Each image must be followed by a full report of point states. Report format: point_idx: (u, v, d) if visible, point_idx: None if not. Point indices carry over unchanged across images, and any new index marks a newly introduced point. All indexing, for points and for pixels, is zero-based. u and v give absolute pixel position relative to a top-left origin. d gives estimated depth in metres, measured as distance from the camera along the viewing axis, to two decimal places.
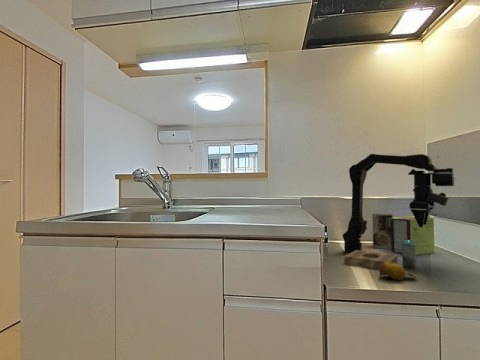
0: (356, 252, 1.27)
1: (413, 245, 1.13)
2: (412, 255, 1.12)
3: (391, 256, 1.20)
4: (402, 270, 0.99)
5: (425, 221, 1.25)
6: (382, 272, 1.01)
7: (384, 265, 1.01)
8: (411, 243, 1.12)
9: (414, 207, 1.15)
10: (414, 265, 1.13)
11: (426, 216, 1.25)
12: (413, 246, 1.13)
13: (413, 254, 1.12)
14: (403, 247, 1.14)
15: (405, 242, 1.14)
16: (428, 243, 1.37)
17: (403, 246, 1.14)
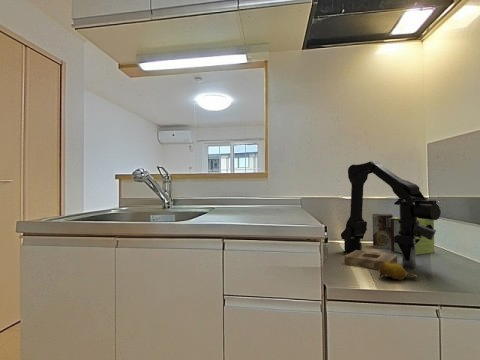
0: (356, 252, 1.27)
1: None
2: (412, 255, 1.12)
3: (391, 256, 1.20)
4: (402, 270, 0.99)
5: None
6: (382, 272, 1.01)
7: (384, 265, 1.01)
8: None
9: (399, 241, 1.08)
10: (414, 265, 1.13)
11: None
12: (413, 246, 1.13)
13: (413, 254, 1.12)
14: None
15: None
16: (428, 243, 1.37)
17: None
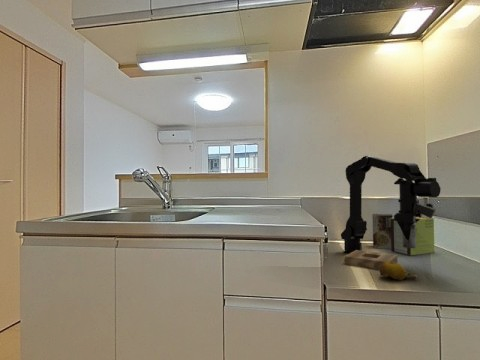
0: (356, 252, 1.27)
1: (413, 224, 1.12)
2: (412, 234, 1.12)
3: (391, 256, 1.20)
4: (402, 270, 0.99)
5: None
6: (382, 272, 1.01)
7: (384, 265, 1.01)
8: None
9: (398, 219, 1.08)
10: (414, 244, 1.13)
11: None
12: (413, 225, 1.12)
13: (413, 233, 1.12)
14: None
15: None
16: (428, 243, 1.37)
17: None
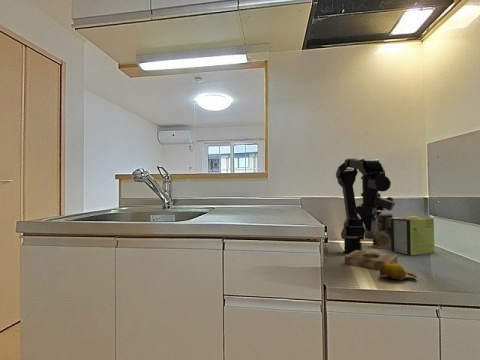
0: (356, 252, 1.27)
1: (374, 216, 1.19)
2: (373, 226, 1.19)
3: (391, 256, 1.20)
4: (402, 270, 0.99)
5: None
6: (382, 272, 1.01)
7: (384, 265, 1.01)
8: None
9: (359, 212, 1.15)
10: (375, 235, 1.19)
11: None
12: (374, 217, 1.19)
13: (374, 225, 1.19)
14: None
15: None
16: (428, 243, 1.37)
17: None
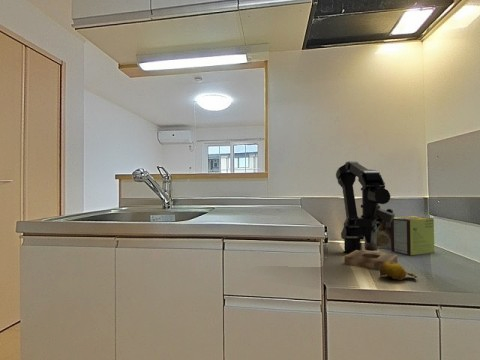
0: (356, 252, 1.27)
1: (374, 228, 1.19)
2: (372, 238, 1.19)
3: (391, 256, 1.20)
4: (402, 270, 0.99)
5: None
6: (382, 272, 1.01)
7: (384, 265, 1.01)
8: None
9: (359, 224, 1.15)
10: (375, 247, 1.19)
11: None
12: (374, 229, 1.19)
13: (374, 236, 1.19)
14: None
15: None
16: (428, 243, 1.37)
17: None
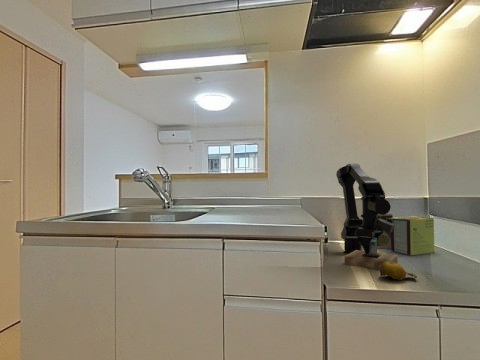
0: (356, 252, 1.27)
1: (374, 242, 1.19)
2: (373, 252, 1.19)
3: (391, 256, 1.20)
4: (402, 270, 0.99)
5: None
6: (382, 272, 1.01)
7: (384, 265, 1.01)
8: (372, 240, 1.19)
9: (359, 234, 1.15)
10: None
11: None
12: (374, 243, 1.19)
13: (374, 250, 1.19)
14: None
15: None
16: (428, 243, 1.37)
17: None
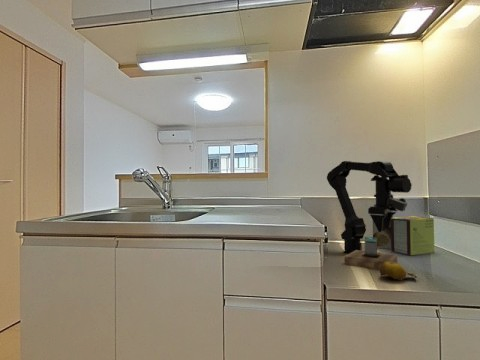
0: (356, 252, 1.27)
1: (374, 242, 1.19)
2: (373, 252, 1.19)
3: (391, 256, 1.20)
4: (402, 270, 0.99)
5: (387, 225, 1.29)
6: (382, 272, 1.01)
7: (384, 265, 1.01)
8: (372, 240, 1.19)
9: (372, 212, 1.20)
10: None
11: (388, 221, 1.29)
12: (374, 243, 1.19)
13: (374, 250, 1.19)
14: (365, 244, 1.21)
15: (367, 239, 1.20)
16: (428, 243, 1.37)
17: (365, 243, 1.21)
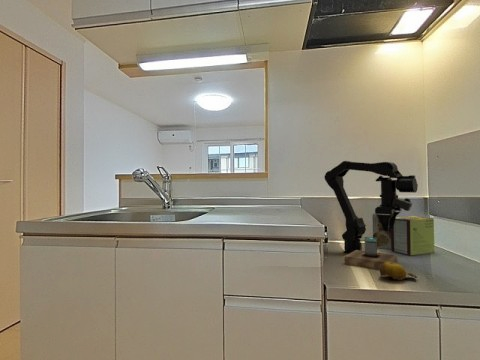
0: (356, 252, 1.27)
1: (374, 242, 1.19)
2: (373, 252, 1.19)
3: (391, 256, 1.20)
4: (403, 270, 0.99)
5: (392, 225, 1.31)
6: (383, 272, 1.01)
7: (385, 265, 1.01)
8: (372, 240, 1.19)
9: (379, 212, 1.22)
10: None
11: (393, 220, 1.31)
12: (374, 243, 1.19)
13: (374, 250, 1.19)
14: (365, 244, 1.21)
15: (367, 239, 1.20)
16: (428, 243, 1.37)
17: (365, 243, 1.21)
